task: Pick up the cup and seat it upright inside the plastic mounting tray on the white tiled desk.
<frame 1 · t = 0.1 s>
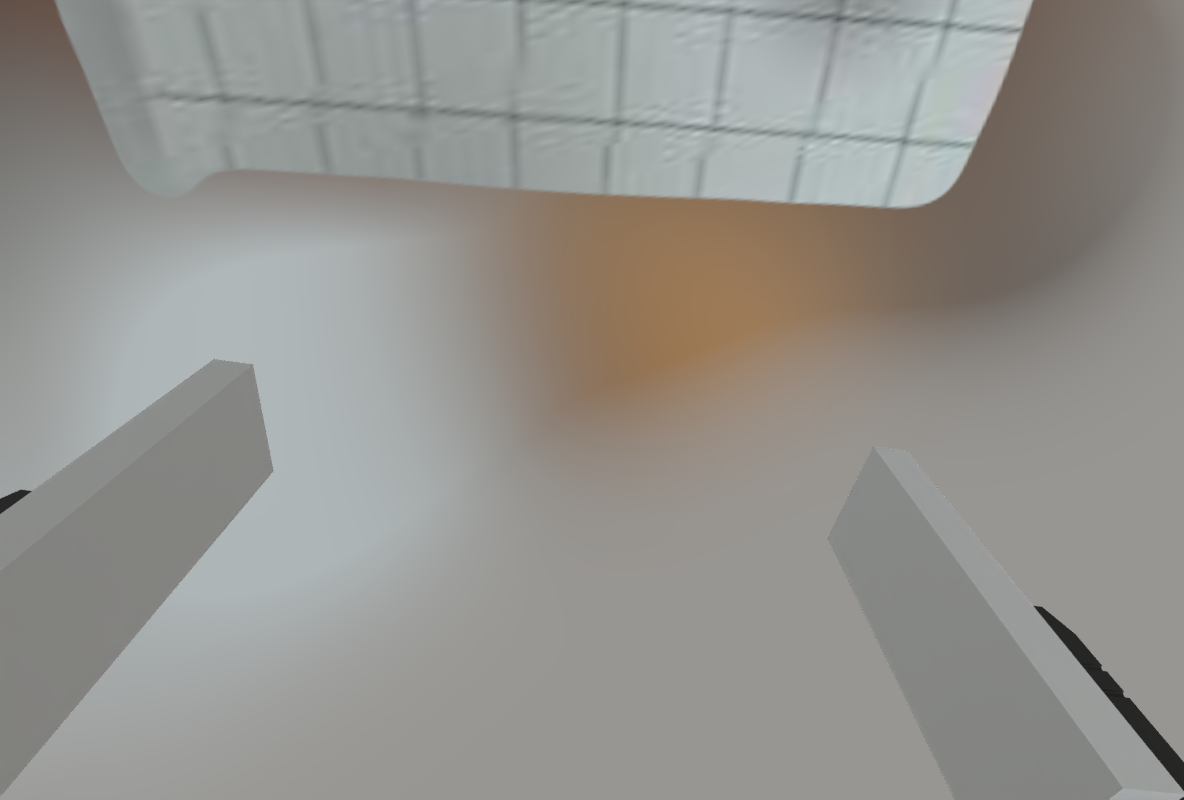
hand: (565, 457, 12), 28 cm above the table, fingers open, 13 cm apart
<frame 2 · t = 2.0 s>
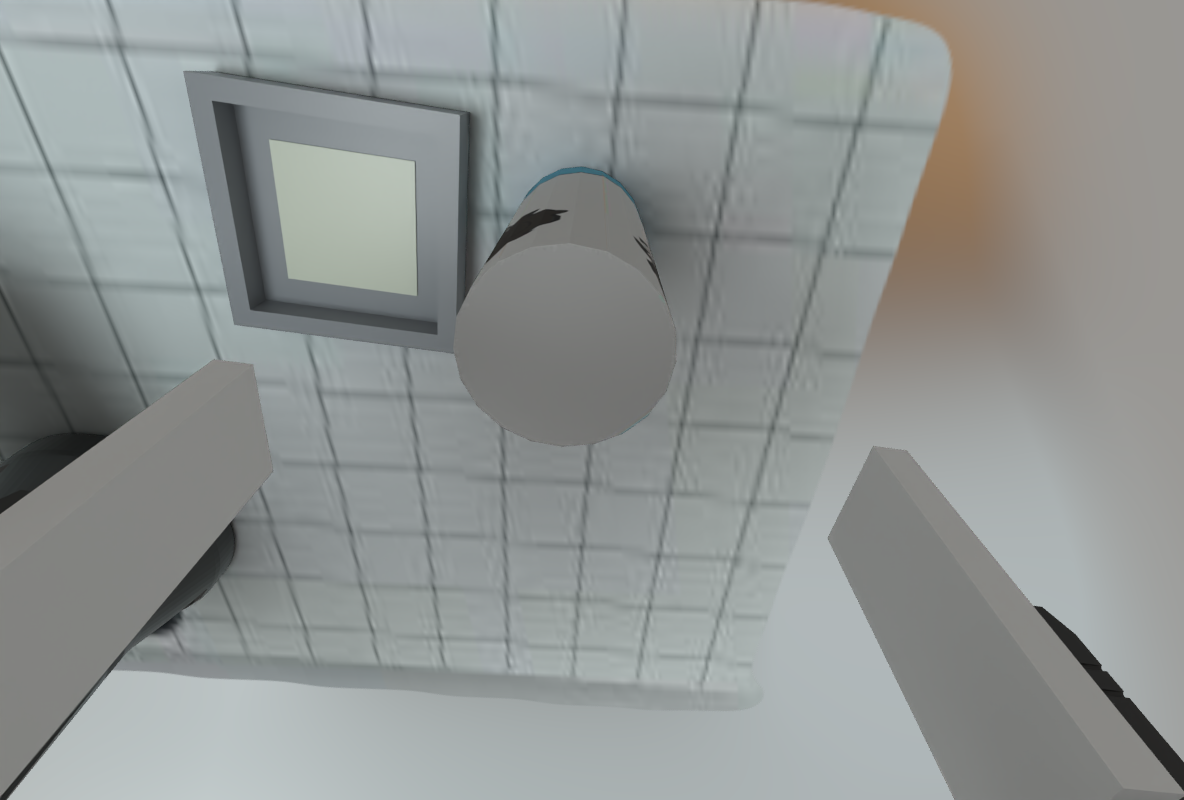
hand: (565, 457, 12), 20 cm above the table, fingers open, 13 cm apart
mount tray: (353, 220, 29), on the table
cup: (579, 233, 30), on the table
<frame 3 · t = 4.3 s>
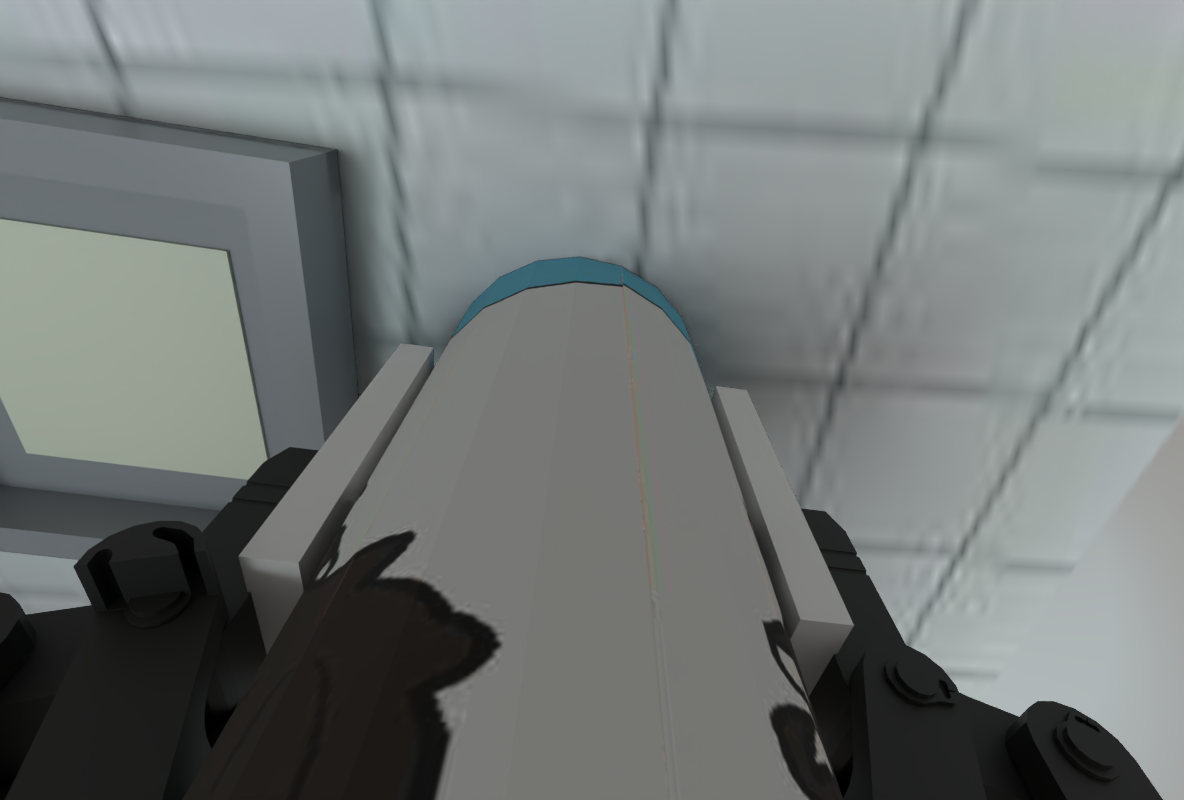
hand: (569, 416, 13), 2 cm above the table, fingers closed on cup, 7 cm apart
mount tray: (135, 351, 15), on the table
cup: (573, 374, 15), on the table, touching gripper
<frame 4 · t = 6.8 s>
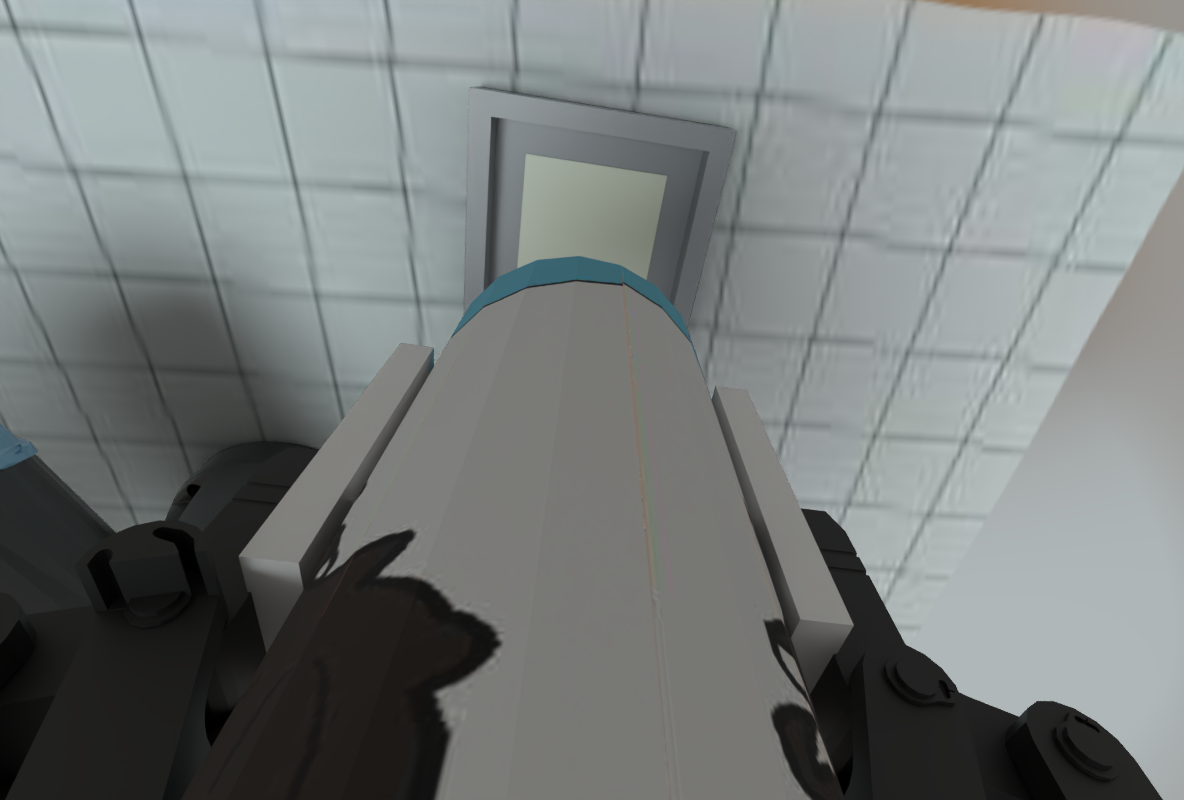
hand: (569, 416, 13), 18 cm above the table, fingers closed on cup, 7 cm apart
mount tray: (587, 233, 29), on the table
cup: (574, 373, 15), point 16 cm above the table, touching gripper
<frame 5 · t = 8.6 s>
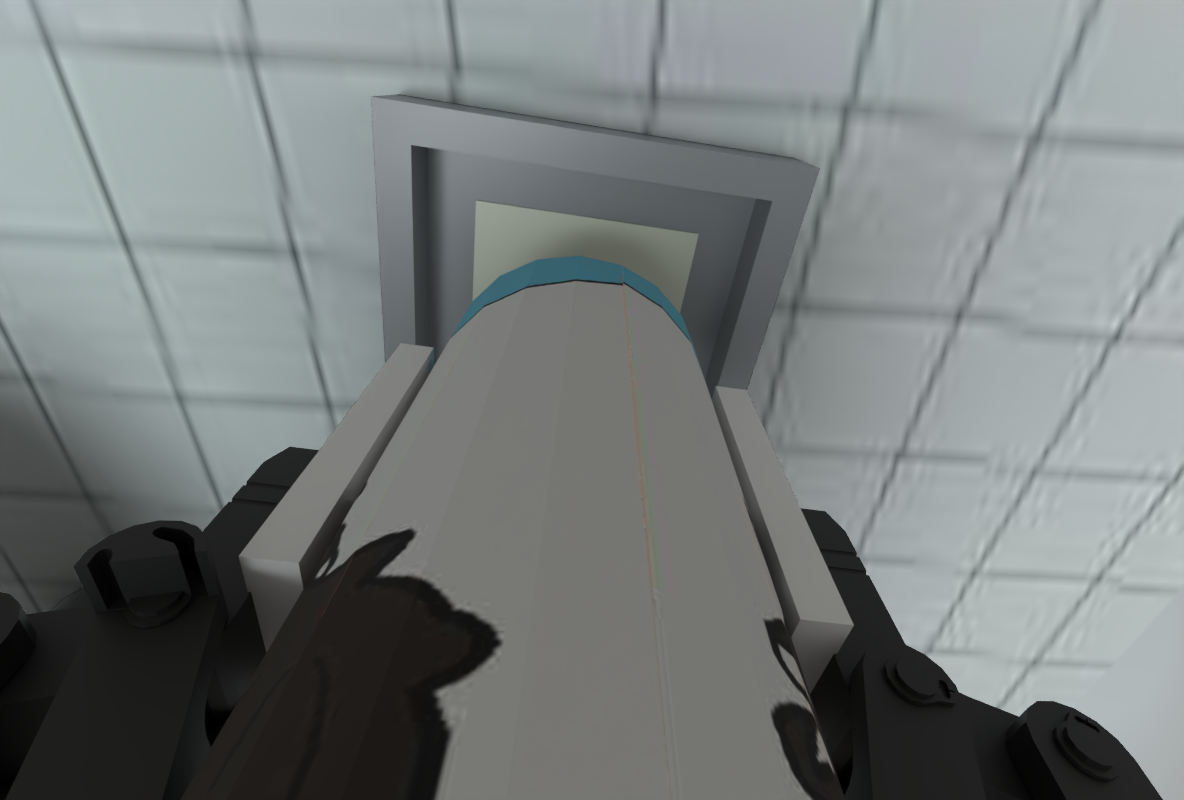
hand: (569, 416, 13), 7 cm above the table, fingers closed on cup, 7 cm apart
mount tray: (575, 314, 19), on the table
cup: (574, 373, 15), point 5 cm above the table, touching gripper
when the fingers open (4 cm above the table, at t = 9.7 s): cup drops 1 cm, resting on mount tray.
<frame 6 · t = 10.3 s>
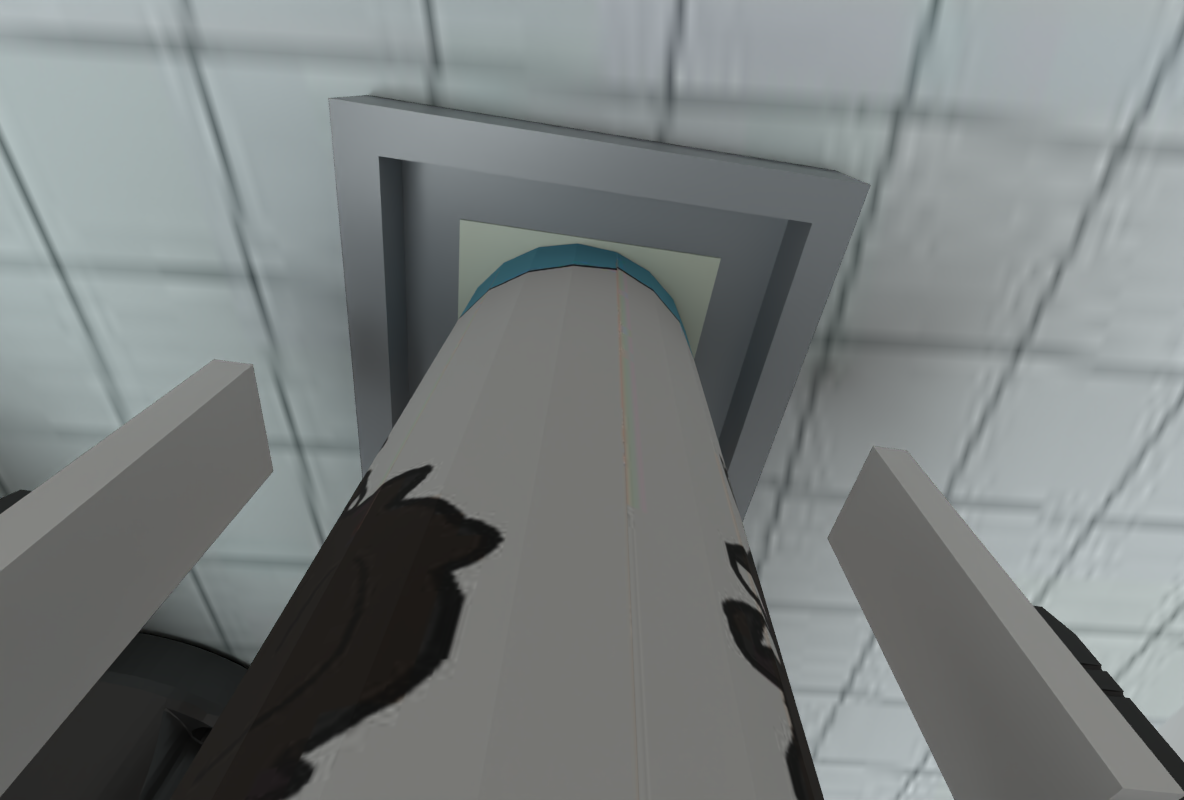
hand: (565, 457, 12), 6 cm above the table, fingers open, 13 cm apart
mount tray: (576, 346, 17), on the table
cup: (573, 354, 16), point 1 cm above the table, touching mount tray
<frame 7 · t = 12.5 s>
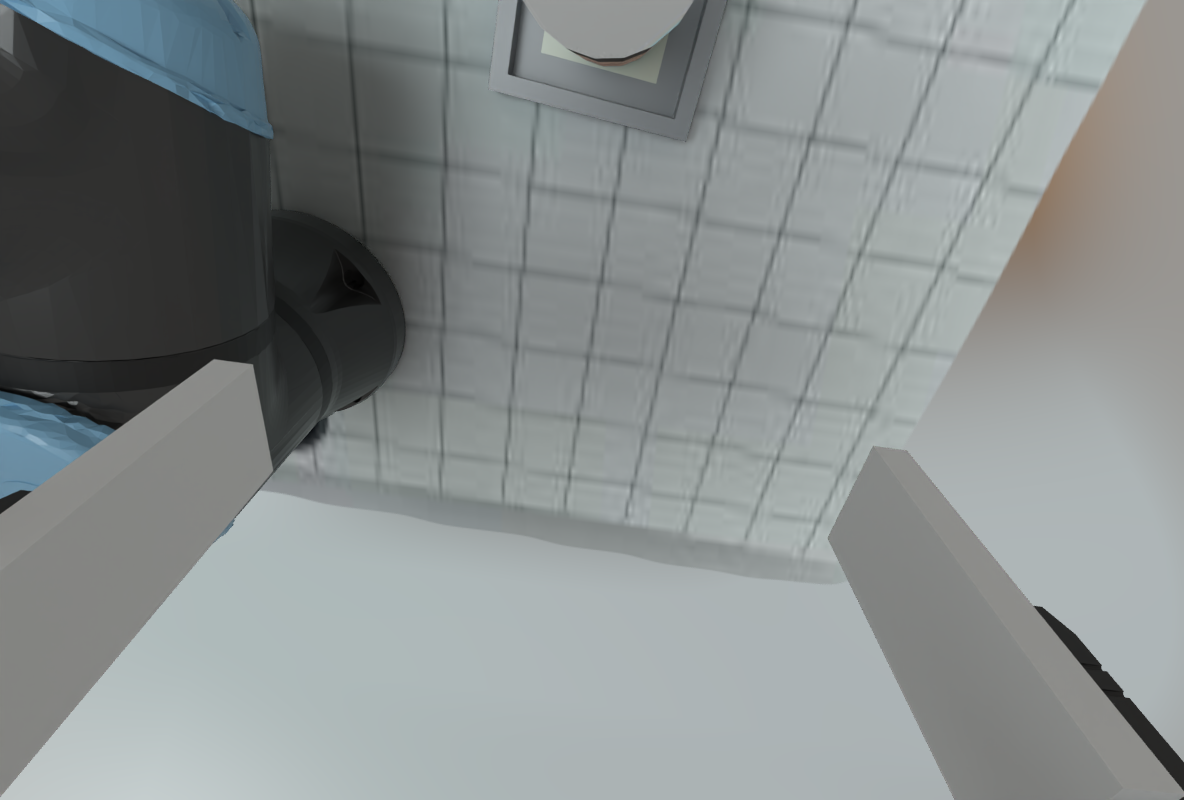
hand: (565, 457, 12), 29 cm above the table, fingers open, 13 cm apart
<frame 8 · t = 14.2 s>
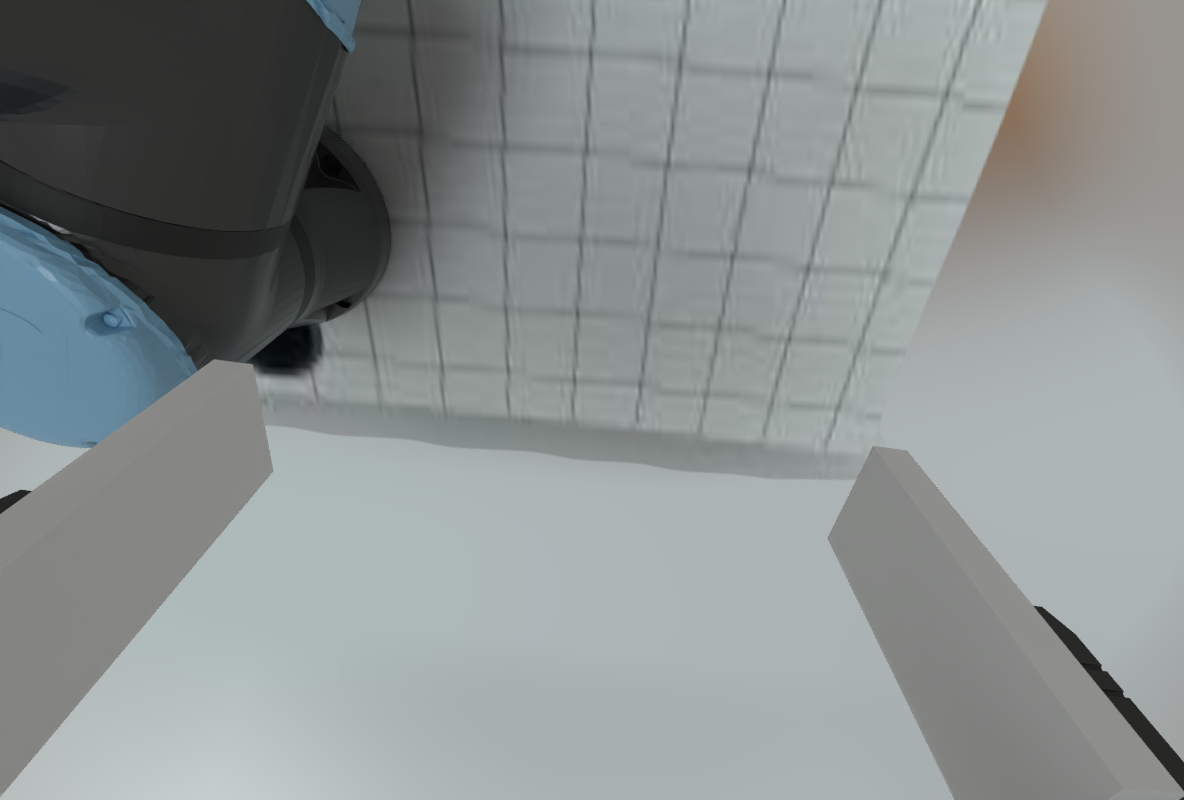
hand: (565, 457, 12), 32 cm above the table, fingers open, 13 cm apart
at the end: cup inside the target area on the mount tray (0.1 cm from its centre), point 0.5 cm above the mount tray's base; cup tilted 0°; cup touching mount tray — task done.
